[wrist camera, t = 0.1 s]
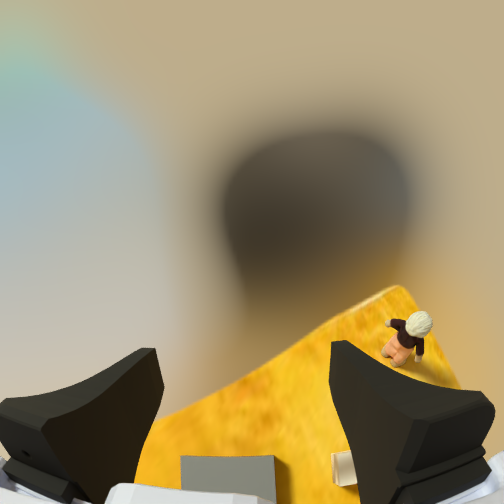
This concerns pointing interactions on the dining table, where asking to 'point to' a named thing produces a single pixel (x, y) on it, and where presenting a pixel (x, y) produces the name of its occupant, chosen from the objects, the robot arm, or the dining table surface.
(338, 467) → the cream cube
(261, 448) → the dining table surface
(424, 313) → the grandmother figurine
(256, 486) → the base plinth
